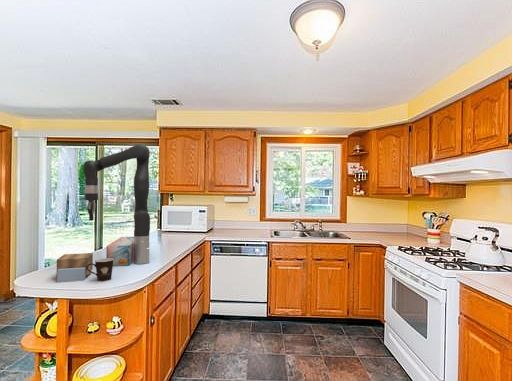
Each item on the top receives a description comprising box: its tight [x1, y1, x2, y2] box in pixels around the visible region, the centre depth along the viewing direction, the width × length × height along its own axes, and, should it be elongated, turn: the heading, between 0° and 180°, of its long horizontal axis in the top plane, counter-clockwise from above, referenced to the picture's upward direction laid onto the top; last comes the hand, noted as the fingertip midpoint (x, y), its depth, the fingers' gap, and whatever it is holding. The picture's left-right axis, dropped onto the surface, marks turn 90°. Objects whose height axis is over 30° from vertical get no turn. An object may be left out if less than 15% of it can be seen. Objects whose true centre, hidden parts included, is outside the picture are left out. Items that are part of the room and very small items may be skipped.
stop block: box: [56, 267, 86, 283], centre depth 160 cm, size 12×2×6 cm, turn 108°
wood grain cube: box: [56, 252, 94, 277], centre depth 168 cm, size 14×14×9 cm
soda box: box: [105, 236, 134, 267], centre depth 210 cm, size 41×14×13 cm, turn 12°
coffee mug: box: [87, 257, 114, 282], centre depth 162 cm, size 12×9×10 cm
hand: (91, 220), depth 197 cm, fingers closed
